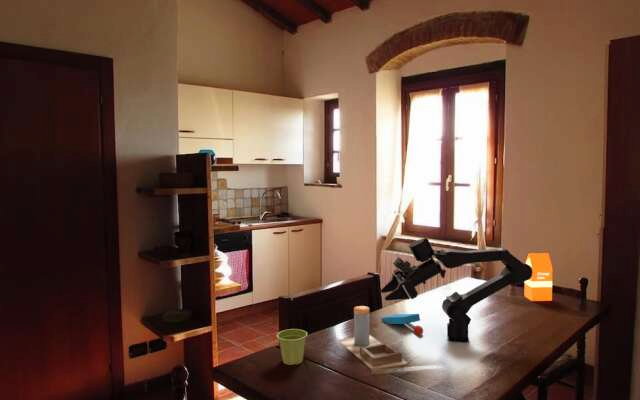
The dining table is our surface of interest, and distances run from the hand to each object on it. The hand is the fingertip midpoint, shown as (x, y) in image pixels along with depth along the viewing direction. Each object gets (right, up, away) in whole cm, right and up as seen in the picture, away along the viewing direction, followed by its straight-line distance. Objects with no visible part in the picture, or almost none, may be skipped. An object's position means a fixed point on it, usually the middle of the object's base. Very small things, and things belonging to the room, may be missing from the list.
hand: (383, 295), depth 163 cm
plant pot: (-30, -18, -15) cm, 38 cm away
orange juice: (+74, -11, +48) cm, 89 cm away
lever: (+9, -15, +13) cm, 22 cm away
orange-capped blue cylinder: (-8, -15, -4) cm, 18 cm away
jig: (-5, -17, -10) cm, 20 cm away
